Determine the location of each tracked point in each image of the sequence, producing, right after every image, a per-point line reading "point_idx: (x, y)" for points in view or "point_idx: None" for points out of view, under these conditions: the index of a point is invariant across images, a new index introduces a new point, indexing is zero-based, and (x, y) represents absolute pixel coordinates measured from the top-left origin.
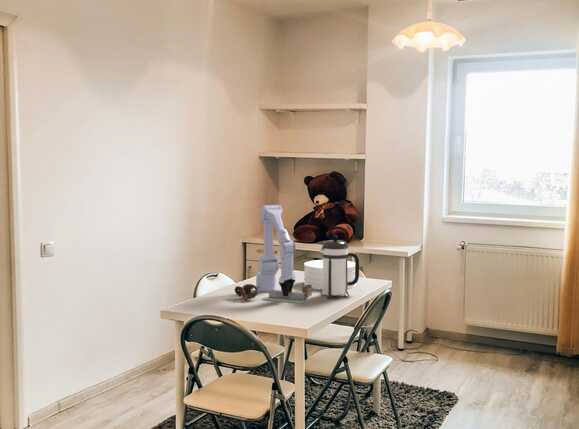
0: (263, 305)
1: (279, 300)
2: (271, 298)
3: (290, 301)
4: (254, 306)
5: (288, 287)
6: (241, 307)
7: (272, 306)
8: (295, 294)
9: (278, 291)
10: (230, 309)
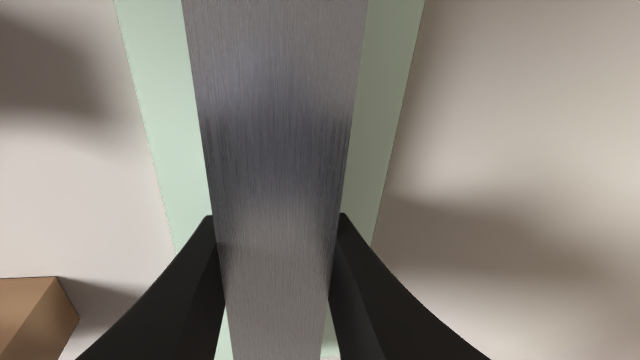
0: (546, 273)
1: (369, 241)
2: (330, 313)
3: (396, 120)
4: (573, 303)
5: (415, 318)
6: (591, 339)
7: (594, 208)
8: (349, 107)
9: (293, 350)
10: (631, 354)
